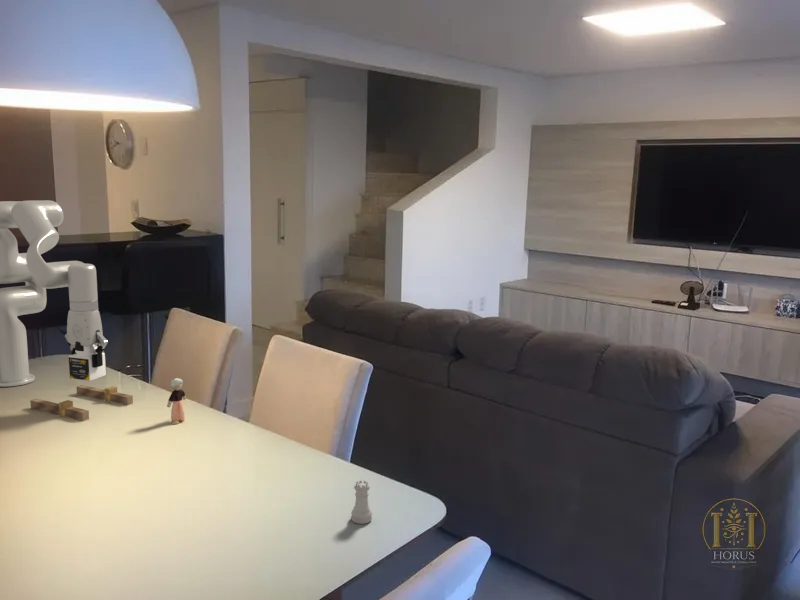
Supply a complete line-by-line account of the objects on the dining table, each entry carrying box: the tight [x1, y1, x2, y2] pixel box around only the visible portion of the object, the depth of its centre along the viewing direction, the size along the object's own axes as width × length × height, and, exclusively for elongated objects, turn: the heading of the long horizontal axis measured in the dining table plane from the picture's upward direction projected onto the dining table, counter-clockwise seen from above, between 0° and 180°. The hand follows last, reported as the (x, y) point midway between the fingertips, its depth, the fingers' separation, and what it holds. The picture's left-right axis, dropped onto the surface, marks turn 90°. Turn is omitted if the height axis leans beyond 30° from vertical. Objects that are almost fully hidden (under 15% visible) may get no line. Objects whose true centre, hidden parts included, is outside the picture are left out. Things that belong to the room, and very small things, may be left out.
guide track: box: [30, 384, 134, 422], centre depth 207 cm, size 22×19×4 cm
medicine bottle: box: [68, 342, 107, 382], centre depth 204 cm, size 7×7×12 cm
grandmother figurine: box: [166, 377, 187, 425], centre depth 195 cm, size 8×4×13 cm, turn 171°
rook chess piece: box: [350, 479, 373, 525], centre depth 141 cm, size 4×4×8 cm
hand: (87, 364), depth 204 cm, fingers closed on medicine bottle, 7 cm apart
